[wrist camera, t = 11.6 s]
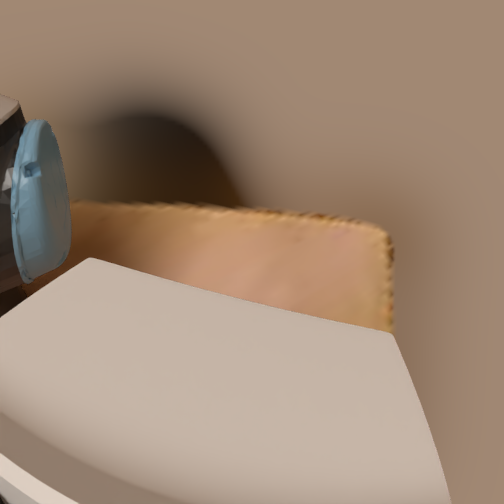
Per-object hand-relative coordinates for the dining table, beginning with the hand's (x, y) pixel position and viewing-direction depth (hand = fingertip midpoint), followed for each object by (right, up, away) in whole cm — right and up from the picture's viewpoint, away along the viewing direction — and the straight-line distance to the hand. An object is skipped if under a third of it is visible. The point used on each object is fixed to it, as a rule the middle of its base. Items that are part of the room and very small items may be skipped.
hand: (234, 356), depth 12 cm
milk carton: (-2, -7, +6) cm, 9 cm away
